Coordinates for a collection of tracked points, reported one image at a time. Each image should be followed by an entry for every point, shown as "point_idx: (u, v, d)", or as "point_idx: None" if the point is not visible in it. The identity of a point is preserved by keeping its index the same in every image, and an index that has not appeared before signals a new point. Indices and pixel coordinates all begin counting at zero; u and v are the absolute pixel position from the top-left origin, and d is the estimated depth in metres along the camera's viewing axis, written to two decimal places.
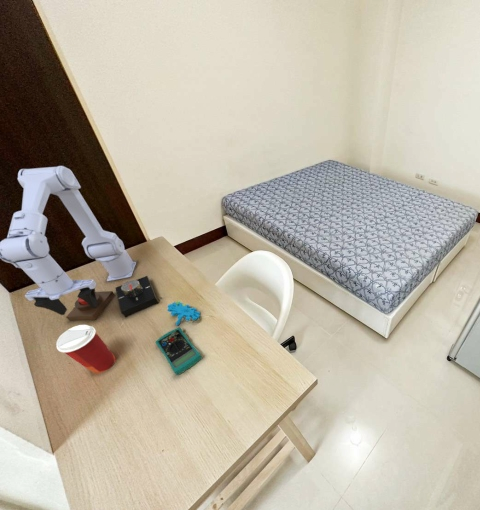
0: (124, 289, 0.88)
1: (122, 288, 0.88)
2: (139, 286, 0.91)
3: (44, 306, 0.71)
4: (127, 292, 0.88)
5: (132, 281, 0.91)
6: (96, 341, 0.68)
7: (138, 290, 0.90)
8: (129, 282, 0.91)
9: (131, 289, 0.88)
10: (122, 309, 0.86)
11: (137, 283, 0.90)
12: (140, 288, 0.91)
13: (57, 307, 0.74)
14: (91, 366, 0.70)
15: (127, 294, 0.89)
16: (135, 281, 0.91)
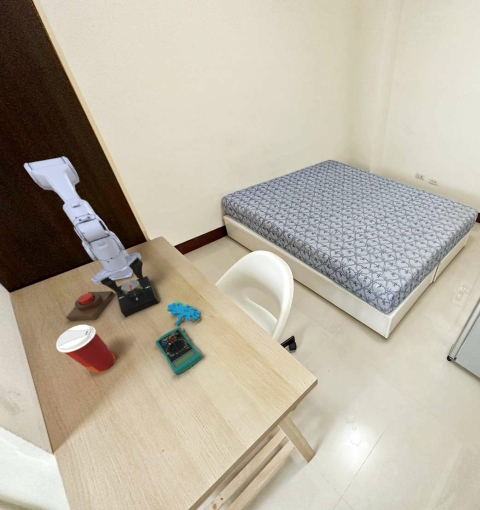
0: (124, 289, 0.88)
1: (122, 288, 0.88)
2: (139, 286, 0.91)
3: (113, 285, 0.82)
4: (127, 292, 0.88)
5: (132, 281, 0.91)
6: (96, 341, 0.68)
7: (138, 290, 0.90)
8: (129, 282, 0.91)
9: (131, 289, 0.88)
10: (122, 309, 0.86)
11: (137, 283, 0.90)
12: (140, 288, 0.91)
13: None
14: (91, 366, 0.70)
15: (127, 294, 0.89)
16: (135, 281, 0.91)
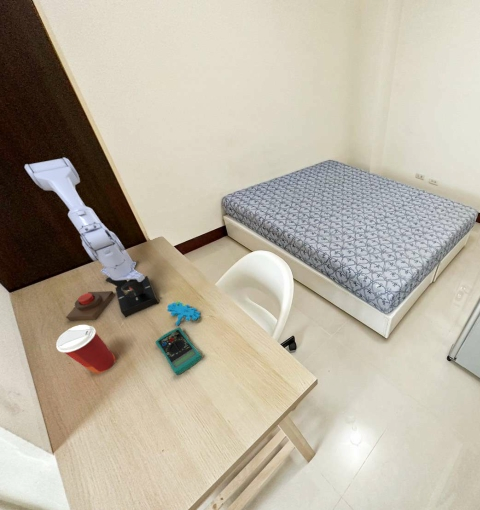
0: (124, 289, 0.88)
1: (122, 288, 0.88)
2: None
3: None
4: (127, 292, 0.88)
5: None
6: (96, 341, 0.68)
7: None
8: None
9: (131, 289, 0.88)
10: (122, 309, 0.86)
11: None
12: None
13: None
14: (91, 366, 0.70)
15: (127, 294, 0.89)
16: None
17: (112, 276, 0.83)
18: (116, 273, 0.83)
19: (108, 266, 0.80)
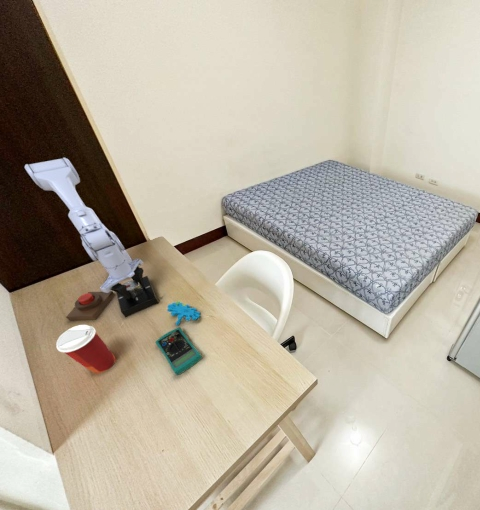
0: (124, 284, 0.90)
1: (128, 282, 0.91)
2: (128, 292, 0.88)
3: (124, 289, 0.85)
4: None
5: (135, 284, 0.90)
6: (96, 341, 0.68)
7: None
8: (135, 283, 0.91)
9: None
10: (122, 309, 0.86)
11: (129, 289, 0.88)
12: None
13: None
14: (91, 366, 0.70)
15: None
16: (134, 286, 0.89)
17: None
18: None
19: (108, 266, 0.81)
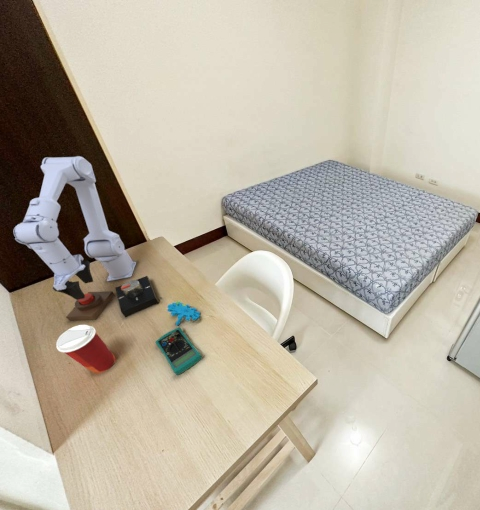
0: (124, 284, 0.90)
1: (127, 282, 0.91)
2: (128, 292, 0.88)
3: (77, 286, 0.79)
4: None
5: (135, 284, 0.90)
6: (96, 341, 0.68)
7: (125, 294, 0.89)
8: (135, 283, 0.91)
9: None
10: (122, 309, 0.86)
11: (129, 289, 0.88)
12: (129, 294, 0.89)
13: None
14: (91, 366, 0.70)
15: None
16: (134, 286, 0.89)
17: None
18: (50, 268, 0.76)
19: (44, 261, 0.74)
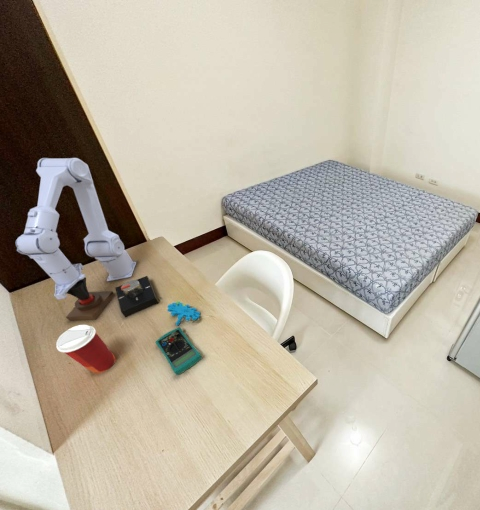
0: (124, 284, 0.90)
1: (127, 282, 0.91)
2: (128, 292, 0.88)
3: (82, 287, 0.83)
4: None
5: (135, 284, 0.90)
6: (96, 341, 0.68)
7: (125, 294, 0.89)
8: (135, 283, 0.91)
9: None
10: (122, 309, 0.86)
11: (129, 289, 0.88)
12: (129, 294, 0.89)
13: None
14: (91, 366, 0.70)
15: None
16: (134, 286, 0.89)
17: None
18: None
19: (45, 271, 0.76)
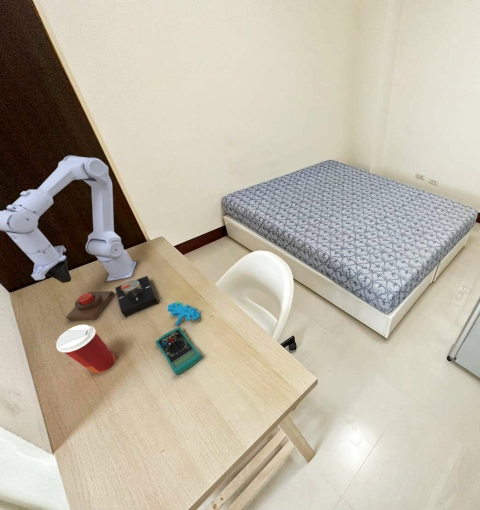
0: (124, 284, 0.90)
1: (127, 282, 0.91)
2: (128, 292, 0.88)
3: (63, 269, 0.82)
4: None
5: (135, 284, 0.90)
6: (96, 341, 0.68)
7: (125, 294, 0.89)
8: (135, 283, 0.91)
9: None
10: (122, 309, 0.86)
11: (129, 289, 0.88)
12: (129, 294, 0.89)
13: None
14: (91, 366, 0.70)
15: None
16: (134, 286, 0.89)
17: None
18: (30, 258, 0.76)
19: None
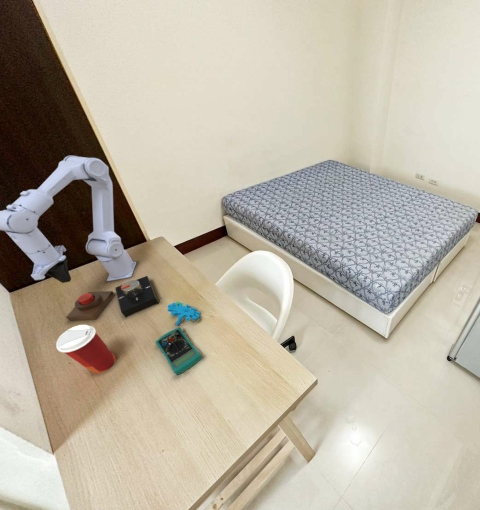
0: (124, 284, 0.90)
1: (127, 282, 0.91)
2: (128, 292, 0.88)
3: (62, 269, 0.82)
4: None
5: (135, 284, 0.90)
6: (96, 341, 0.68)
7: (125, 294, 0.89)
8: (135, 283, 0.91)
9: None
10: (122, 309, 0.86)
11: (129, 289, 0.88)
12: (129, 294, 0.89)
13: None
14: (91, 366, 0.70)
15: None
16: (134, 286, 0.89)
17: None
18: (30, 258, 0.76)
19: None
